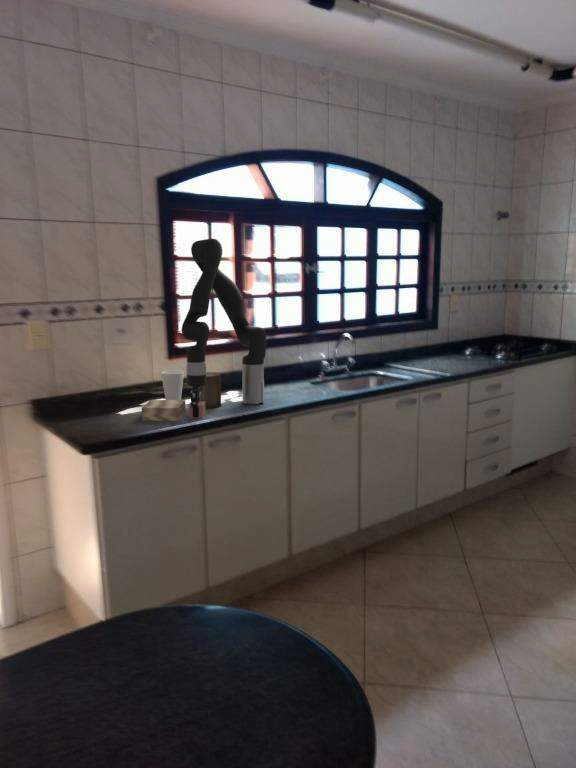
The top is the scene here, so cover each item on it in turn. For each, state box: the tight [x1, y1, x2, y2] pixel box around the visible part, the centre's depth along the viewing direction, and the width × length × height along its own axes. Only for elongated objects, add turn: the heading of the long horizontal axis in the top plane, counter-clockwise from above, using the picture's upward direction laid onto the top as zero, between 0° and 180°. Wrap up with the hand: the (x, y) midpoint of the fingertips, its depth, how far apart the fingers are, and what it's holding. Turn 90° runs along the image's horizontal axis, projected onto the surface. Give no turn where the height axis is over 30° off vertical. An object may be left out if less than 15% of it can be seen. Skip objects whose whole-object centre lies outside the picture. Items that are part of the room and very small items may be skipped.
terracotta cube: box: [188, 401, 206, 420], centre depth 225 cm, size 6×6×6 cm
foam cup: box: [160, 369, 185, 400], centre depth 250 cm, size 10×9×13 cm
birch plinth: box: [141, 399, 187, 422], centre depth 225 cm, size 14×14×5 cm
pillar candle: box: [201, 370, 222, 409], centre depth 242 cm, size 10×10×15 cm
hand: (197, 415), depth 225 cm, fingers closed on terracotta cube, 5 cm apart
